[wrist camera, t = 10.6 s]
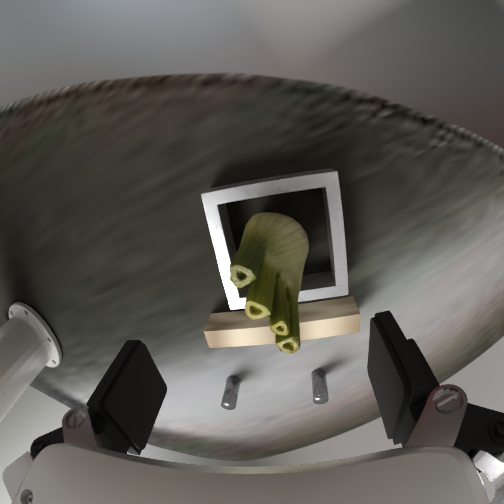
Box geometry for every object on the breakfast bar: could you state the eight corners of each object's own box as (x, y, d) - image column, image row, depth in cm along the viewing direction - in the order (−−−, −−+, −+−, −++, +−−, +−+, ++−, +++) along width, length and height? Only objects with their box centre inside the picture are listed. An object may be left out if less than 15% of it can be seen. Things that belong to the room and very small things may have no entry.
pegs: (228, 384, 31) (223, 409, 28) (225, 376, 31) (219, 401, 27) (325, 377, 29) (328, 403, 26) (325, 368, 29) (328, 394, 25)
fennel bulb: (246, 205, 23) (211, 266, 12) (305, 202, 22) (327, 261, 11) (252, 269, 25) (229, 364, 14) (307, 266, 25) (322, 362, 14)
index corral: (235, 293, 26) (230, 309, 24) (210, 188, 23) (200, 194, 20) (342, 279, 25) (348, 294, 22) (330, 168, 21) (337, 171, 19)
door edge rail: (216, 329, 28) (209, 347, 25) (211, 313, 27) (203, 331, 25) (353, 313, 26) (359, 331, 23) (353, 296, 25) (360, 313, 22)
